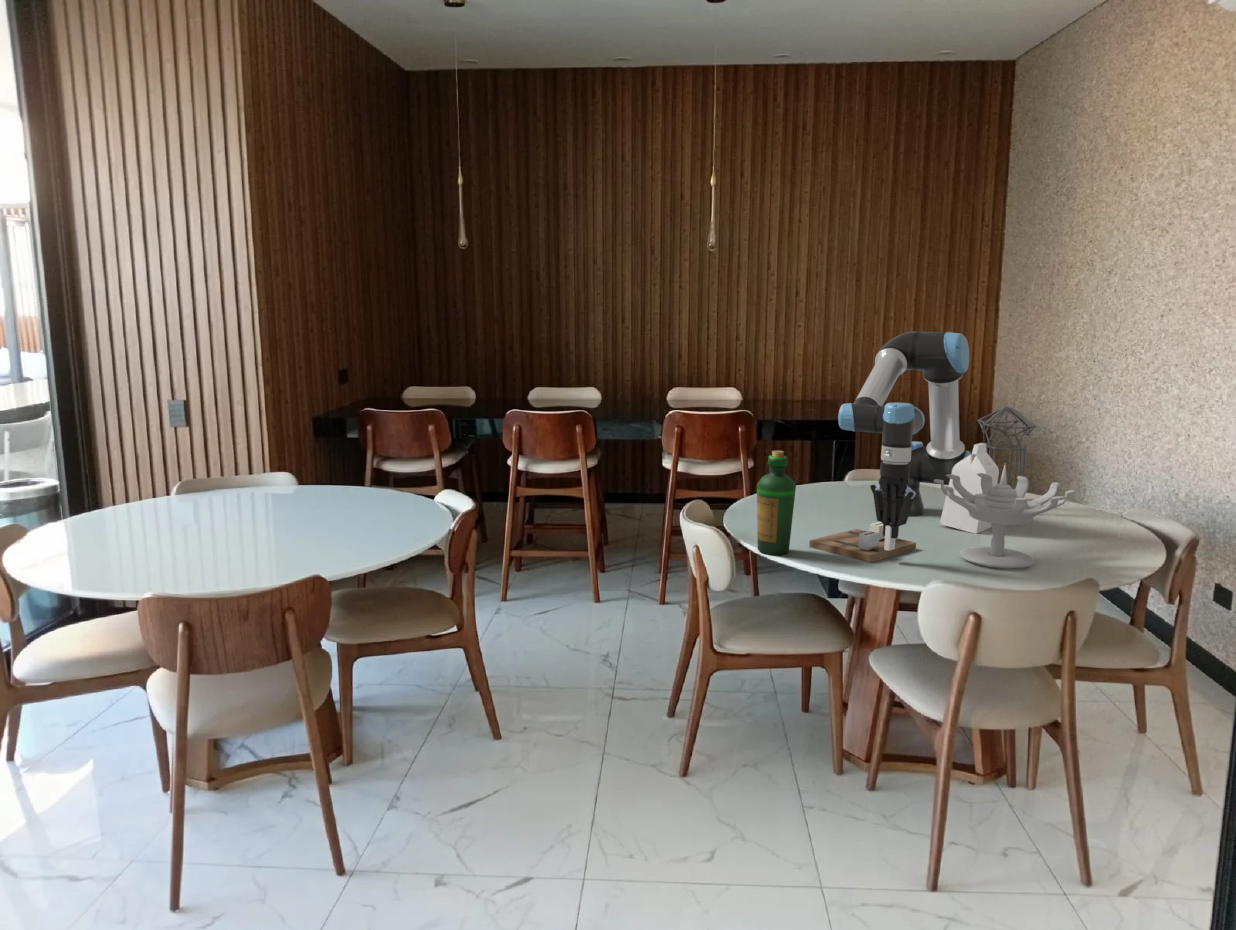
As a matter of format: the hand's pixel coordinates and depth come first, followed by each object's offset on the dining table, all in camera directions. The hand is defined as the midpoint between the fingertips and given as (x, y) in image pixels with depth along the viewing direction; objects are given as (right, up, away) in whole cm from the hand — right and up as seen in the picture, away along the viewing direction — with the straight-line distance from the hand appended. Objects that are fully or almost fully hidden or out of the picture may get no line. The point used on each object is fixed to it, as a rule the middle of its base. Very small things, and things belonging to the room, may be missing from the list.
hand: (889, 549), depth 243 cm
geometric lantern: (+57, +7, +67) cm, 88 cm away
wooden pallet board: (-4, -1, +14) cm, 14 cm away
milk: (+36, +3, +41) cm, 54 cm away
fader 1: (-4, 0, +5) cm, 6 cm away
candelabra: (+30, -4, +3) cm, 30 cm away
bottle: (-29, -2, +9) cm, 31 cm away
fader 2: (+2, +2, +16) cm, 16 cm away
